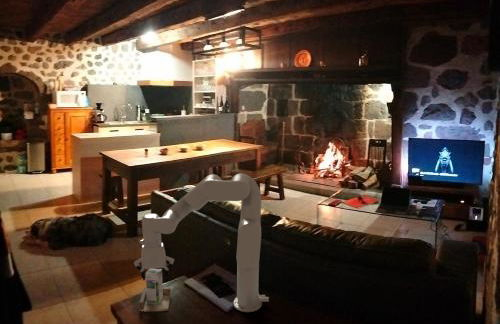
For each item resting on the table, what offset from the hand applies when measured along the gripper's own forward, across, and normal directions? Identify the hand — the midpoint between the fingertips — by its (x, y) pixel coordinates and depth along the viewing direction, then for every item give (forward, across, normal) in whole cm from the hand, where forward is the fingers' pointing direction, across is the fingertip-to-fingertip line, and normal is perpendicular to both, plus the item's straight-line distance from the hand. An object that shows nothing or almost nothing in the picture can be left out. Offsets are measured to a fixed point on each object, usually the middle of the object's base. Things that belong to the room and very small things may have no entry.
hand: (155, 278), depth 179 cm
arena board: (+12, -1, 0) cm, 12 cm away
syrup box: (+11, -1, 0) cm, 11 cm away
